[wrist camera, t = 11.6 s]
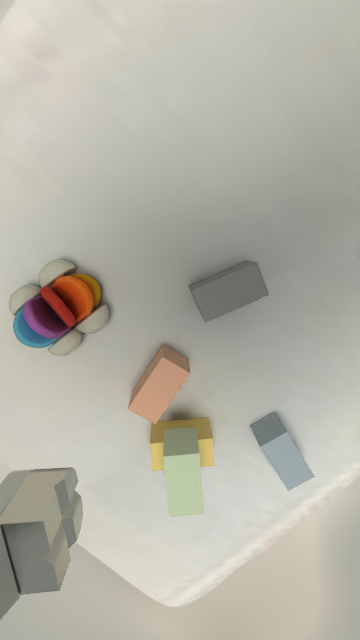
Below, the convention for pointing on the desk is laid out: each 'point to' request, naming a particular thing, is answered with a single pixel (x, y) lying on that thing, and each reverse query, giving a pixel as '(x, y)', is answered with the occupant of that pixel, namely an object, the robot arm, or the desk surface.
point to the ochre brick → (158, 429)
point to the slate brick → (281, 451)
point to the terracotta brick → (159, 384)
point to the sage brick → (183, 472)
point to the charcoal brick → (229, 290)
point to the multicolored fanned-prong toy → (58, 309)
